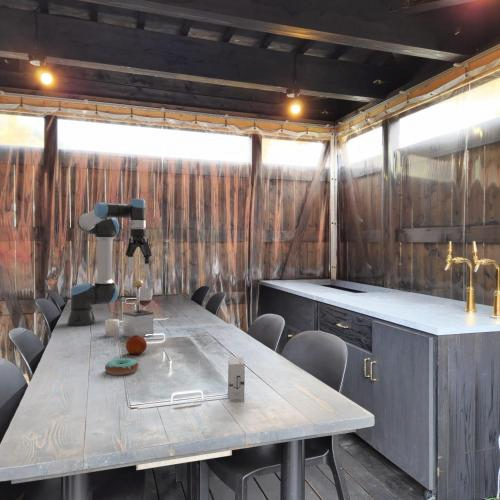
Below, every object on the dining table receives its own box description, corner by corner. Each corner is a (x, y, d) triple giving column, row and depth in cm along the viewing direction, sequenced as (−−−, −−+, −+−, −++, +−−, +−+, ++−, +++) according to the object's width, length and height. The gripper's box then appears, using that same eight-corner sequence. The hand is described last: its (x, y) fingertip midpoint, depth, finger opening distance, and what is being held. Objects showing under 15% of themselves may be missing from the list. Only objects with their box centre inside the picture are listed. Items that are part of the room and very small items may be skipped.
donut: (111, 367, 166) (111, 356, 166) (142, 367, 166) (142, 357, 166) (99, 376, 154) (99, 365, 154) (132, 377, 154) (132, 366, 154)
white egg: (102, 335, 222) (102, 320, 222) (114, 333, 227) (114, 318, 227) (109, 337, 217) (109, 321, 217) (122, 335, 222) (122, 319, 222)
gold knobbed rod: (128, 316, 221) (128, 280, 221) (140, 314, 227) (140, 279, 226) (136, 318, 217) (136, 281, 216) (148, 316, 222) (148, 280, 222)
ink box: (227, 392, 138) (227, 356, 138) (243, 392, 138) (243, 356, 138) (228, 402, 129) (228, 363, 129) (245, 402, 130) (245, 363, 130)
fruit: (128, 357, 179) (128, 338, 179) (124, 352, 187) (124, 334, 187) (149, 354, 184) (149, 336, 183) (144, 350, 191) (144, 332, 191)
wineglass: (148, 329, 236) (148, 290, 235) (132, 329, 238) (132, 289, 237) (155, 326, 244) (155, 288, 244) (139, 326, 246) (139, 288, 246)
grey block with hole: (123, 335, 221) (123, 312, 221) (141, 332, 230) (141, 309, 229) (134, 338, 214) (134, 314, 214) (153, 335, 222) (153, 312, 222)
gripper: (118, 229, 226) (118, 269, 227) (145, 227, 210) (146, 271, 210) (131, 229, 232) (131, 268, 232) (158, 228, 215) (158, 270, 215)
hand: (138, 269), depth 221 cm, fingers open, 13 cm apart
